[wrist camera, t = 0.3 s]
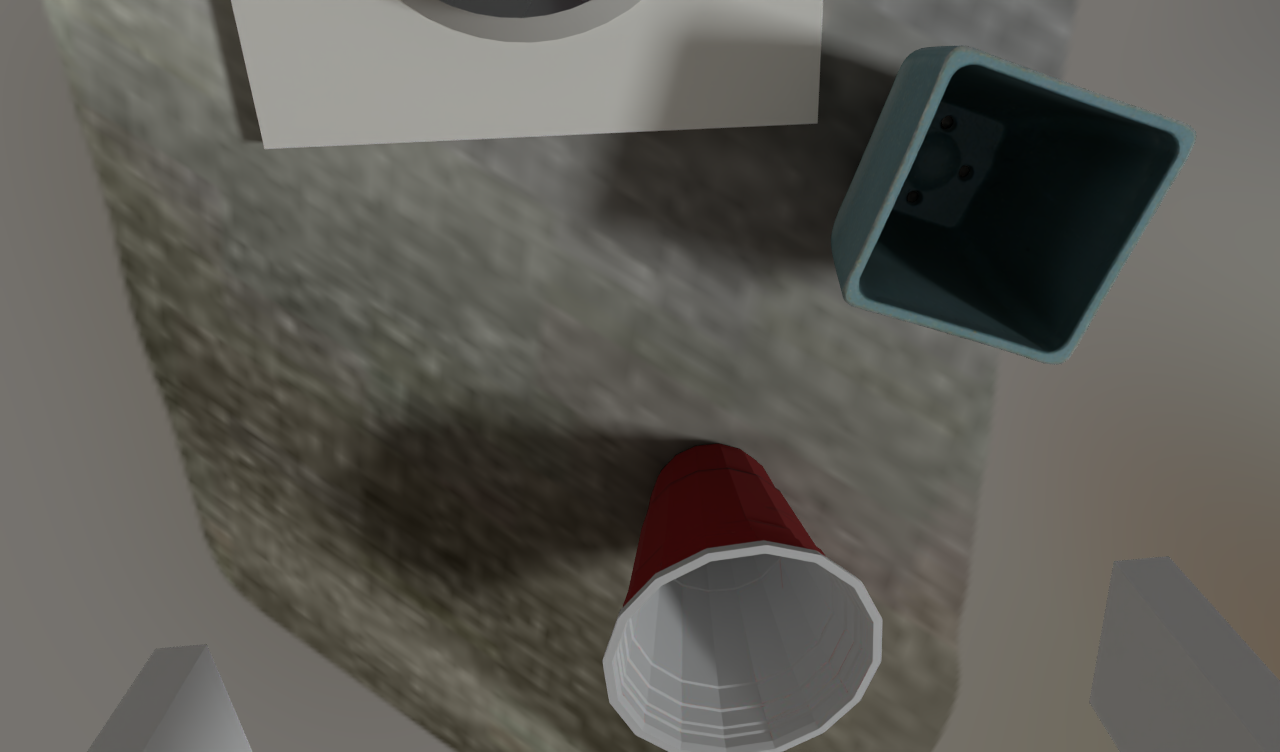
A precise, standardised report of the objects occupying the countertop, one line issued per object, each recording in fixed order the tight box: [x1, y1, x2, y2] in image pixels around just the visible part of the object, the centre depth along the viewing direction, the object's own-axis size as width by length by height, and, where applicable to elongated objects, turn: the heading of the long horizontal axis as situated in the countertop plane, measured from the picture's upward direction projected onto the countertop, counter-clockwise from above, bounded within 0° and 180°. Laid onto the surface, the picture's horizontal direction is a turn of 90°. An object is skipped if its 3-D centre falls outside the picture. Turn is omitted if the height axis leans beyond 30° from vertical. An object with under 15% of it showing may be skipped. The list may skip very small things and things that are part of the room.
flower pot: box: [831, 46, 1196, 364], centre depth 33 cm, size 9×9×9 cm
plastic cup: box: [603, 444, 882, 752], centre depth 38 cm, size 11×11×12 cm
